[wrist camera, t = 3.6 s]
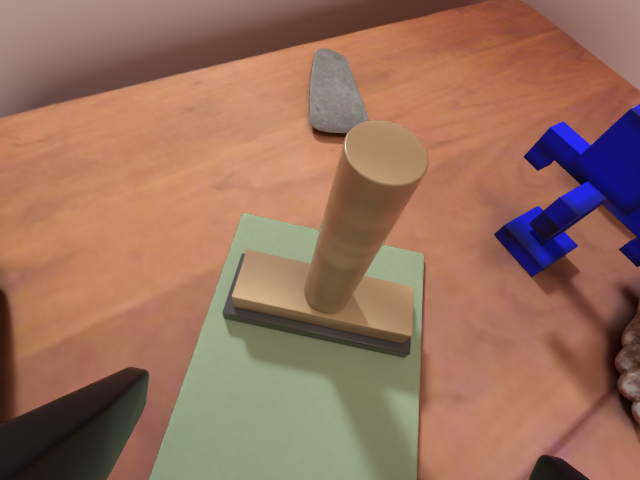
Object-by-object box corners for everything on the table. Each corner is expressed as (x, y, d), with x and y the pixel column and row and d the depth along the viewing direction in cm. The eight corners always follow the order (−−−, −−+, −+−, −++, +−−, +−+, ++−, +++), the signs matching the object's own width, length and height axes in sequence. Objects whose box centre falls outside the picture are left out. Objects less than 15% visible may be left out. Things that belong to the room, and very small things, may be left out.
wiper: (404, 358, 22) (577, 249, 10) (223, 318, 21) (177, 156, 10) (407, 296, 24) (554, 145, 12) (242, 259, 23) (224, 65, 12)
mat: (407, 655, 16) (411, 661, 15) (109, 598, 15) (105, 602, 15) (421, 256, 26) (424, 253, 26) (243, 216, 26) (242, 212, 25)
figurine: (482, 193, 30) (599, 58, 20) (570, 218, 30) (734, 97, 20) (481, 274, 26) (627, 158, 16) (583, 303, 26) (796, 206, 16)
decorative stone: (347, 60, 36) (297, 58, 35) (350, 48, 35) (298, 45, 34) (368, 138, 31) (310, 137, 30) (372, 126, 30) (312, 125, 29)
